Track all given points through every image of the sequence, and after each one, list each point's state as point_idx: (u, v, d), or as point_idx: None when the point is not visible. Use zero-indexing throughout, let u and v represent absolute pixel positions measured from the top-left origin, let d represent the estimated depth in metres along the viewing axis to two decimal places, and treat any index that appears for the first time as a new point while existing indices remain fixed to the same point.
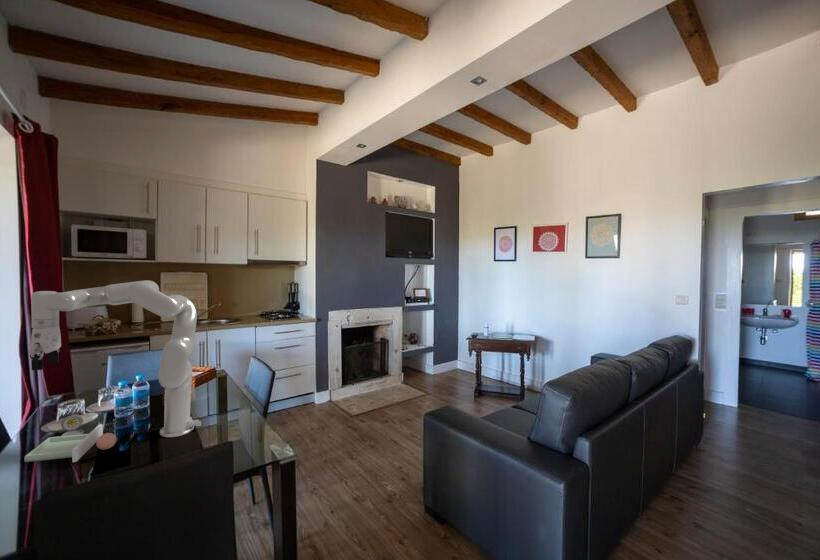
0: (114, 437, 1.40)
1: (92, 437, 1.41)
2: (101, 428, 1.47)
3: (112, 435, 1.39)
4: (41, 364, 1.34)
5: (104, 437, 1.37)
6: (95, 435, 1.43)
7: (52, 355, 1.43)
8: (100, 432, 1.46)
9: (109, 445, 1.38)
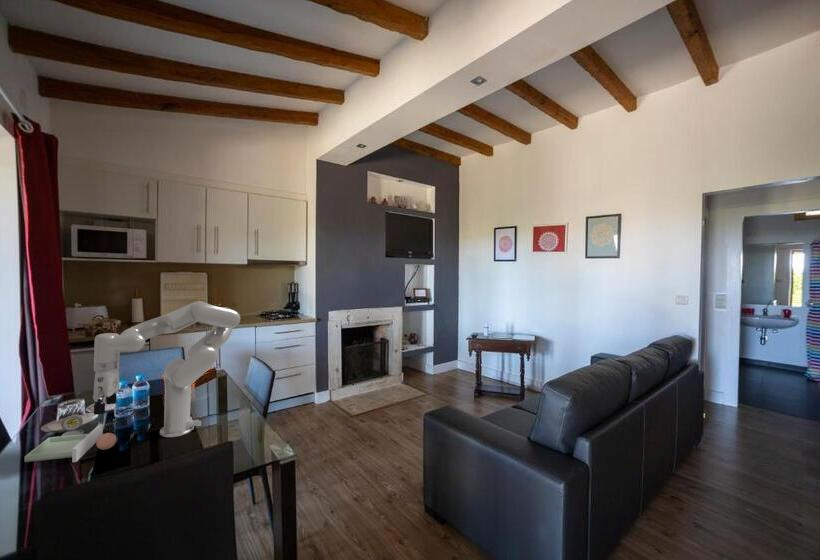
0: (114, 437, 1.40)
1: (92, 437, 1.41)
2: (101, 428, 1.47)
3: (112, 435, 1.39)
4: (103, 408, 1.33)
5: (104, 437, 1.37)
6: (95, 435, 1.43)
7: (110, 397, 1.42)
8: (100, 432, 1.46)
9: (109, 445, 1.38)
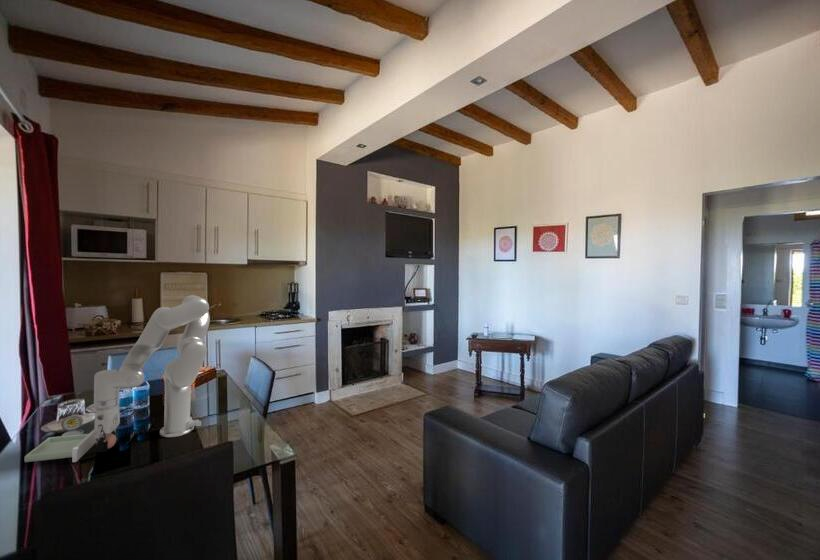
0: (114, 437, 1.40)
1: (92, 437, 1.41)
2: None
3: (112, 435, 1.39)
4: (106, 446, 1.36)
5: (103, 437, 1.37)
6: (95, 435, 1.43)
7: None
8: None
9: (109, 445, 1.38)
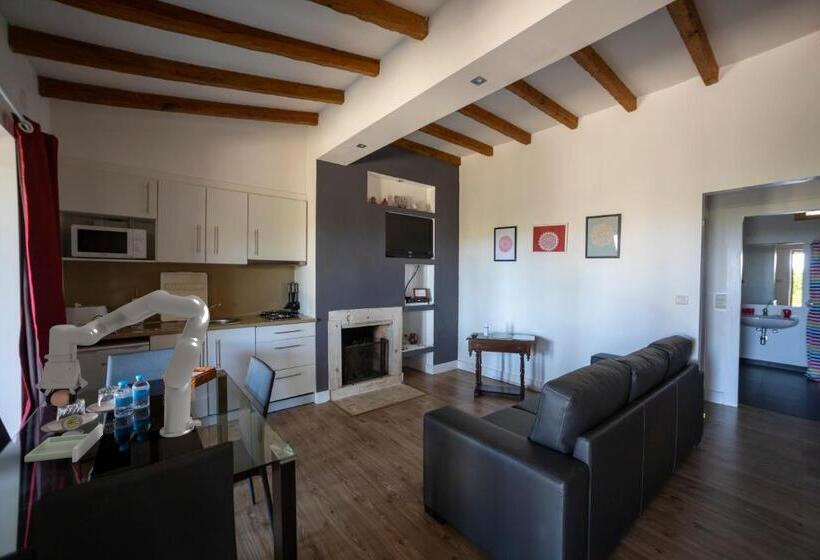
0: (57, 397, 1.33)
1: (92, 437, 1.41)
2: (101, 428, 1.47)
3: (58, 394, 1.34)
4: None
5: None
6: (95, 435, 1.43)
7: None
8: (100, 432, 1.46)
9: (51, 402, 1.33)
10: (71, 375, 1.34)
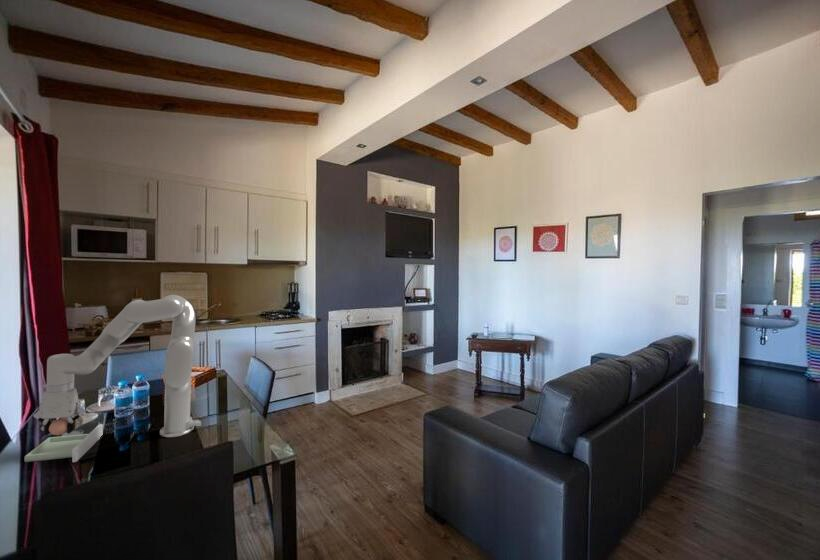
0: (55, 426, 1.33)
1: (92, 437, 1.41)
2: (101, 428, 1.47)
3: (56, 423, 1.34)
4: None
5: None
6: (95, 435, 1.43)
7: None
8: (100, 432, 1.46)
9: (49, 431, 1.34)
10: (69, 404, 1.34)
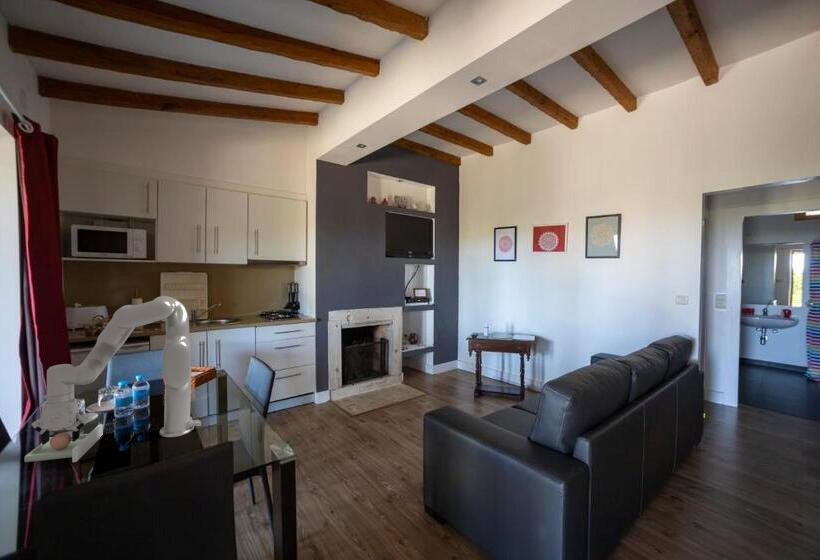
0: (56, 440, 1.34)
1: (92, 437, 1.41)
2: (101, 428, 1.47)
3: (57, 437, 1.34)
4: None
5: None
6: (95, 435, 1.43)
7: None
8: (100, 432, 1.46)
9: (50, 445, 1.34)
10: (69, 415, 1.35)
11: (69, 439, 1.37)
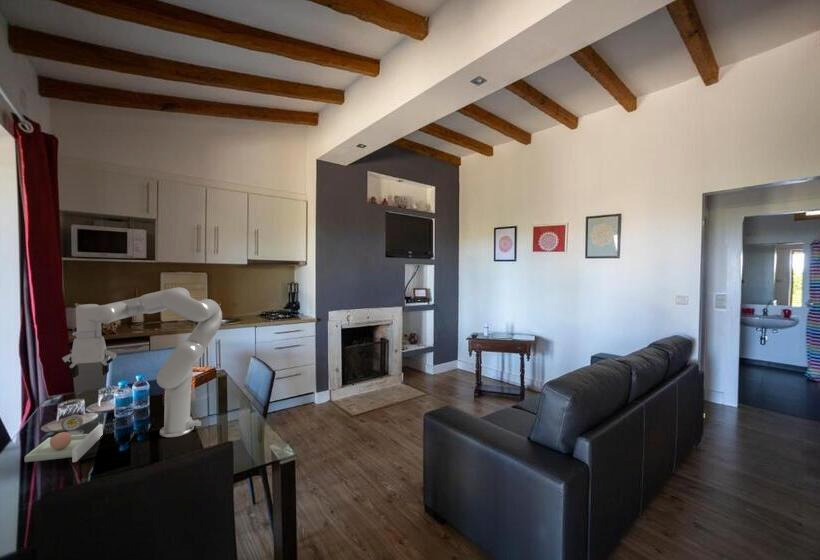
0: (56, 440, 1.34)
1: (92, 437, 1.41)
2: (101, 428, 1.47)
3: (57, 437, 1.34)
4: None
5: (56, 434, 1.36)
6: (95, 435, 1.43)
7: None
8: (100, 432, 1.46)
9: (50, 445, 1.34)
10: (98, 350, 1.45)
11: (69, 439, 1.37)
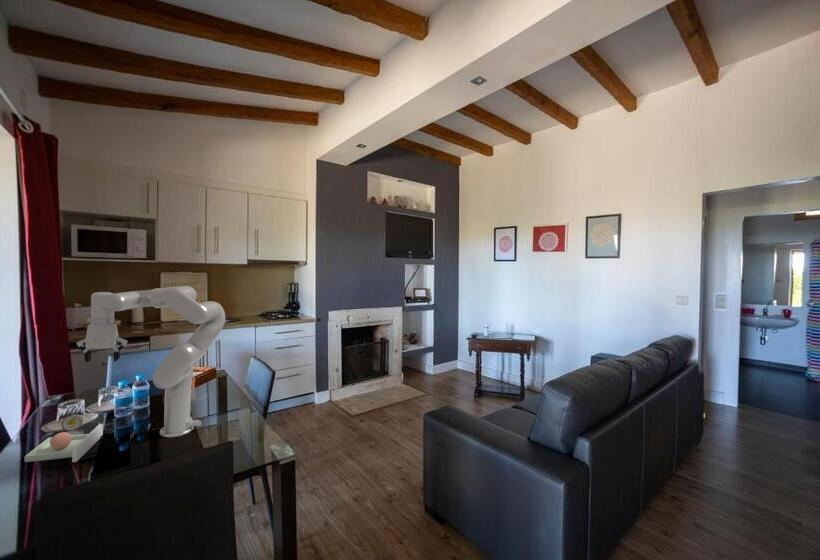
0: (56, 440, 1.34)
1: (92, 437, 1.41)
2: (101, 428, 1.47)
3: (57, 437, 1.34)
4: None
5: (56, 434, 1.36)
6: (95, 435, 1.43)
7: None
8: (100, 432, 1.46)
9: None
10: (110, 336, 1.50)
11: (69, 439, 1.37)
